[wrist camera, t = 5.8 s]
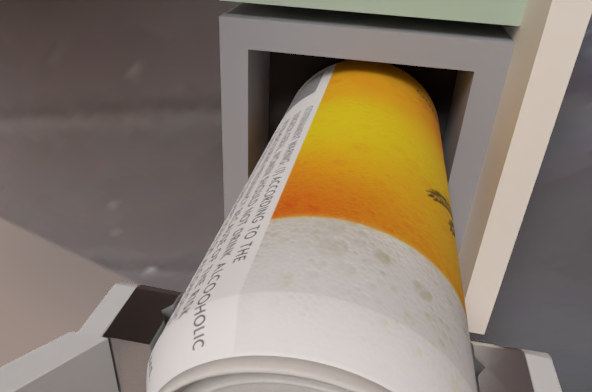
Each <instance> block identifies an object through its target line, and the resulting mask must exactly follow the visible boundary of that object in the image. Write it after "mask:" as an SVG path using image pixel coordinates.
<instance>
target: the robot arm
mask: <svg viewBox="0 0 592 392" xmlns="http://www.w3.org/2000/svg"><path fill="white" fill-rule="evenodd" d="M183 294H184V293H182V292H177V291H171V290H166V289H161V288H156V287H151V286H146V285H138V284H133V283H128V282H123V281H119V282H118V283H116V284H115V285H113V287H112V288H111V289H110V291H109V292H108V293H107V294H106V296H105V297H104V298H103V300H102V301H101V302H100V304H99V305H98V306H97V308H96V309H95V310H94V311H93V313H92V314H91V315H90V317H89V318H88V319H87V321H86V322H85V323H84V324H83V326H82V327H81V328H80V330H79V331H78V332H69V333H67V334H65V335H63V336H61V337H59V338H57V339H55V340H54V341H51V342H50V343H47V344H45V345H44V346H42V347H40V348H38V349H35V350H34V351H32V352H30V353H28V354H26V355H24V356H22V357H20V358H18V359H16V360H14V361H12V362H10V363H8V364H6V365H4V366H2V367H0V392H146V376H147V365H148V362H149V358H150V355H151V352H152V350H153V348H154V346H155V344H156V342H157V340H158V339H159V337H160V335H161V333H162V332H163V330H164V328H165V326H166V324H167V323H168V321H169V319H170V317H171V316H172V314H173V312H174V310H175V308H176V307H177V305H178V303H179V301H180V300H181V298H182V296H183ZM470 342H471V349H472V356H473V363H474V370H475V377H476V384H477V391H478V392H562V389H561V386H560V383H559V380H558V377H557V374H556V371H555V368H554V365H553V362H552V358H551V357H550V356H549V354H548V353H543V352H537V351H530V350H524V349H521V350H520V349H517V348H511V347H505V346H498V345H492V344H486V343H480V342H473V341H470Z"/></svg>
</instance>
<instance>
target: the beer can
mask: <svg viewBox="0 0 592 392" xmlns="http://www.w3.org/2000/svg"><path fill="white" fill-rule="evenodd" d="M146 392H478V391H477V384H476V377H475V370H474V363H473V356H472V349H471V342H470V335H469V328H468V321H467V315H466V308H465V301H464V294H463V287H462V280H461V273H460V266H459V259H458V252H457V245H456V238H455V231H454V224H453V217H452V210H451V203H450V196H449V189H448V182H447V175H446V168H445V161H444V154H443V147H442V140H441V133H440V126H439V119H438V115H437V111H436V109H435V106H434V104H433V101H432V100H431V98H430V96H429V94H428V93H427V92H426V90H425V89H424V87H423V86H422V85H421V84H420V83H419V82H418V81H417V80H416V79H414V78H413V77H412V76H411V75H410V74H408V73H406V72H405V71H403V70H402V69H400V68H398V67H395V66H393V65H391V64H388V63H382V62H372V61H361V60H348V61H343V62H339V63H336V64H333V65H331V66H328V67H326V68H324V69H322V70H321V71H319V72H318V73H316V74H315V75H313V76H312V77H311V78H310V79H309V80H307V81H306V82H305V83H304V85H303V86H302V87H301V88H300V89H299V91H298V92H297V94H296V95H295V97H294V99H293V101H292V102H291V104H290V106H289V108H288V110H287V111H286V113H285V115H284V117H283V118H282V120H281V122H280V124H279V125H278V127H277V129H276V131H275V133H274V134H273V136H272V138H271V140H270V141H269V143H268V145H267V147H266V149H265V150H264V152H263V154H262V156H261V157H260V159H259V161H258V163H257V165H256V166H255V168H254V170H253V172H252V173H251V175H250V177H249V179H248V181H247V182H246V184H245V186H244V188H243V189H242V191H241V193H240V195H239V197H238V198H237V200H236V202H235V204H234V205H233V207H232V209H231V211H230V213H229V214H228V216H227V218H226V220H225V221H224V223H223V225H222V227H221V229H220V230H219V232H218V234H217V236H216V237H215V239H214V241H213V243H212V244H211V246H210V248H209V250H208V252H207V253H206V255H205V257H204V259H203V260H202V262H201V264H200V266H199V268H198V269H197V271H196V273H195V275H194V276H193V278H192V280H191V282H190V284H189V285H188V287H187V289H186V291H185V292H184V294H183V296H182V298H181V300H180V301H179V303H178V305H177V307H176V308H175V310H174V312H173V314H172V316H171V317H170V319H169V321H168V323H167V324H166V326H165V328H164V330H163V332H162V333H161V335H160V337H159V339H158V340H157V342H156V344H155V346H154V348H153V350H152V352H151V355H150V358H149V362H148V365H147V376H146Z"/></svg>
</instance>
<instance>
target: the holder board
mask: <svg viewBox="0 0 592 392" xmlns="http://www.w3.org/2000/svg"><path fill="white" fill-rule="evenodd" d="M221 1H232V2H241V3H239V4H238V5H236V6H235V7H233V8H231V9H230V10H228V11H227V12H225V13H223V14H222V15H220V16H219V36H220V72H221V108H222V144H223V180H224V216H225V220H226V218H227V216H228V214H229V213H230V211H231V209H232V207H233V205H234V204H235V202H236V200H237V198H238V197H239V195H240V193H241V191H242V189H243V188H244V186H245V184H246V182H247V181H248V179H249V177H250V175H251V173H252V172H253V170H254V168H255V166H256V165H257V163H258V161H259V159H260V157H261V156H262V154H263V152H264V150H265V149H266V147H267V145H268V130H269V87H270V52H280V53H290V54H301V55H311V56H321V57H331V58H341V59H351V60H361V61H372V62H382V63H392V64H402V65H412V66H422V67H432V68H443V69H453V70H458V72H457V77H456V82H455V86H454V91H453V95H452V100H451V105H450V109H449V114H448V118H447V123H446V128H445V132H444V137H443V142H442V147H443V154H444V161H445V168H446V175H447V182H448V189H449V196H450V203H451V210H452V217H453V224H454V231H455V238H456V245H457V252H458V259H459V266H460V273H461V280H462V287H463V294H464V301H465V308H466V315H467V321H468V328H469V332H472V333H478V334H484V333H485V330H486V327H487V324H488V321H489V318H490V316H491V313H492V310H493V307H494V304H495V301H496V298H497V295H498V292H499V289H500V286H501V283H502V280H503V277H504V274H505V271H506V268H507V265H508V262H509V259H510V256H511V253H512V250H513V247H514V244H515V241H516V238H517V235H518V232H519V229H520V226H521V223H522V220H523V217H524V214H525V211H526V208H527V205H528V202H529V199H530V196H531V193H532V190H533V187H534V184H535V181H536V178H537V175H538V172H539V169H540V166H541V163H542V160H543V157H544V154H545V151H546V148H547V145H548V142H549V139H550V136H551V133H552V130H553V127H554V124H555V121H556V118H557V115H558V112H559V109H560V106H561V103H562V100H563V97H564V94H565V91H566V88H567V85H568V82H569V79H570V76H571V73H572V70H573V67H574V64H575V61H576V58H577V55H578V52H579V49H580V47H581V44H582V41H583V38H584V35H585V32H586V29H587V26H588V23H589V20H590V17H591V14H592V0H221Z"/></svg>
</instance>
